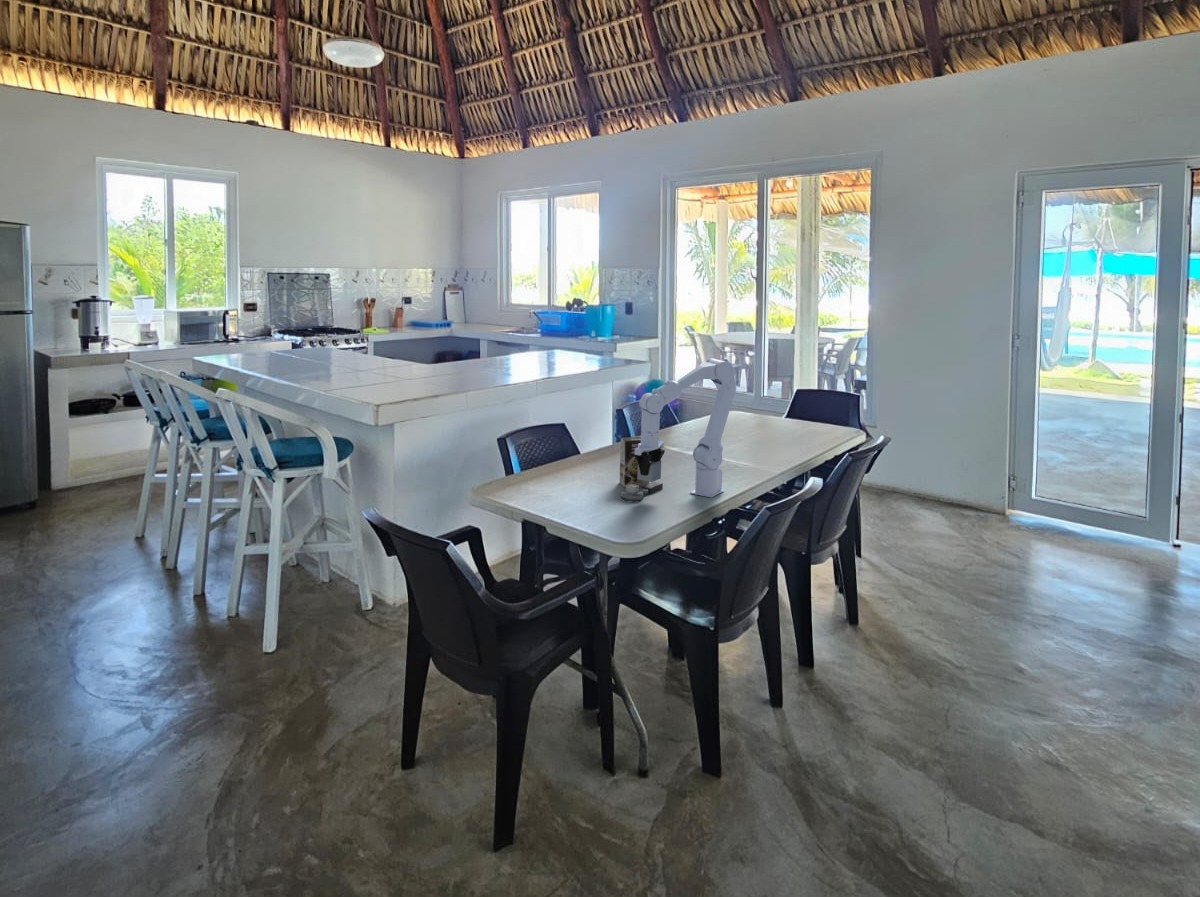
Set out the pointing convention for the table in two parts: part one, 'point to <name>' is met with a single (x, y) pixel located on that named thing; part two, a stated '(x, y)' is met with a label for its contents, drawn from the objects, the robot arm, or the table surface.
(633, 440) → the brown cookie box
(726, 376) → the robot arm
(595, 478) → the table surface
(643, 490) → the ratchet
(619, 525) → the table surface
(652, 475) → the grey brushed cube
